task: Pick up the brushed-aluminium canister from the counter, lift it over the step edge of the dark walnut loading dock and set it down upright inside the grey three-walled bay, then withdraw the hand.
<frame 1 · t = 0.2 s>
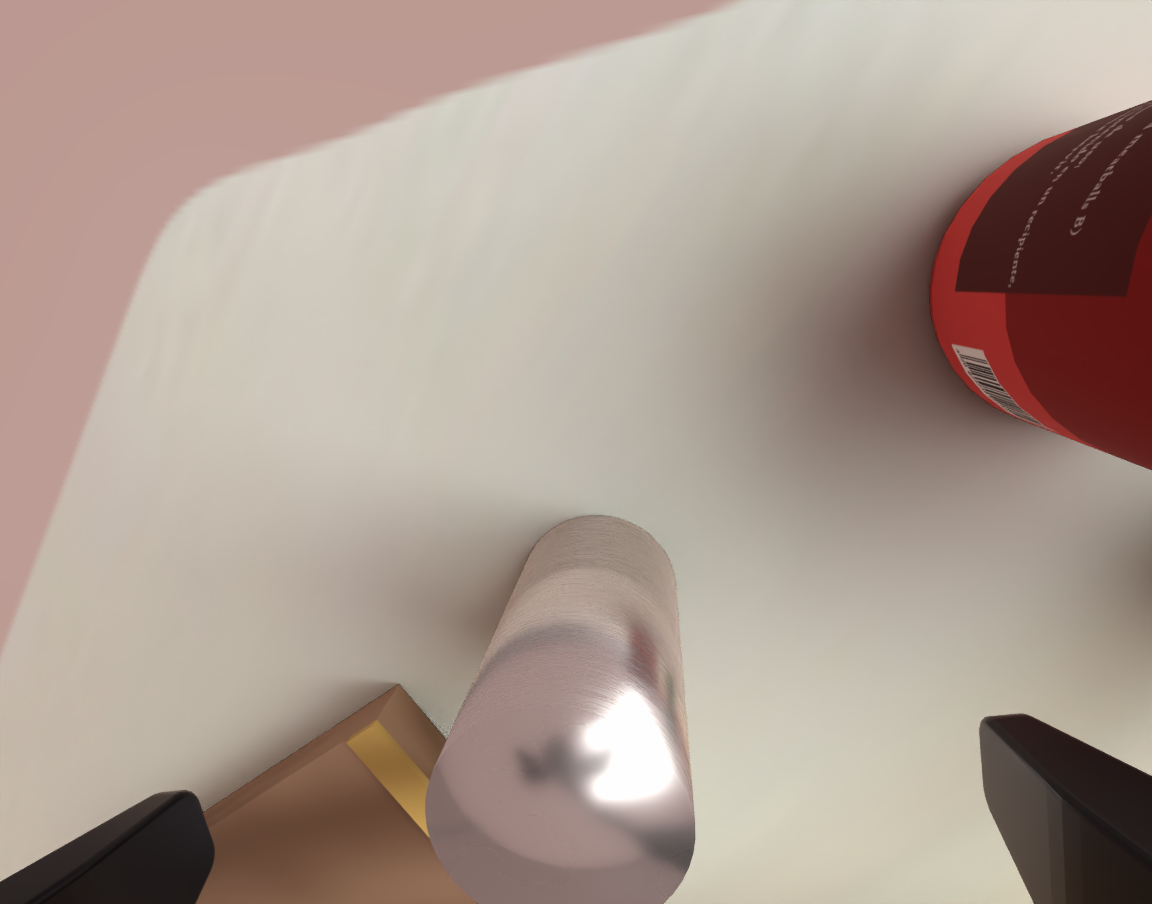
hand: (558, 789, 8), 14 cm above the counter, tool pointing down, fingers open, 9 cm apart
canned food: (1067, 283, 19), on the counter
canister: (598, 587, 22), on the counter
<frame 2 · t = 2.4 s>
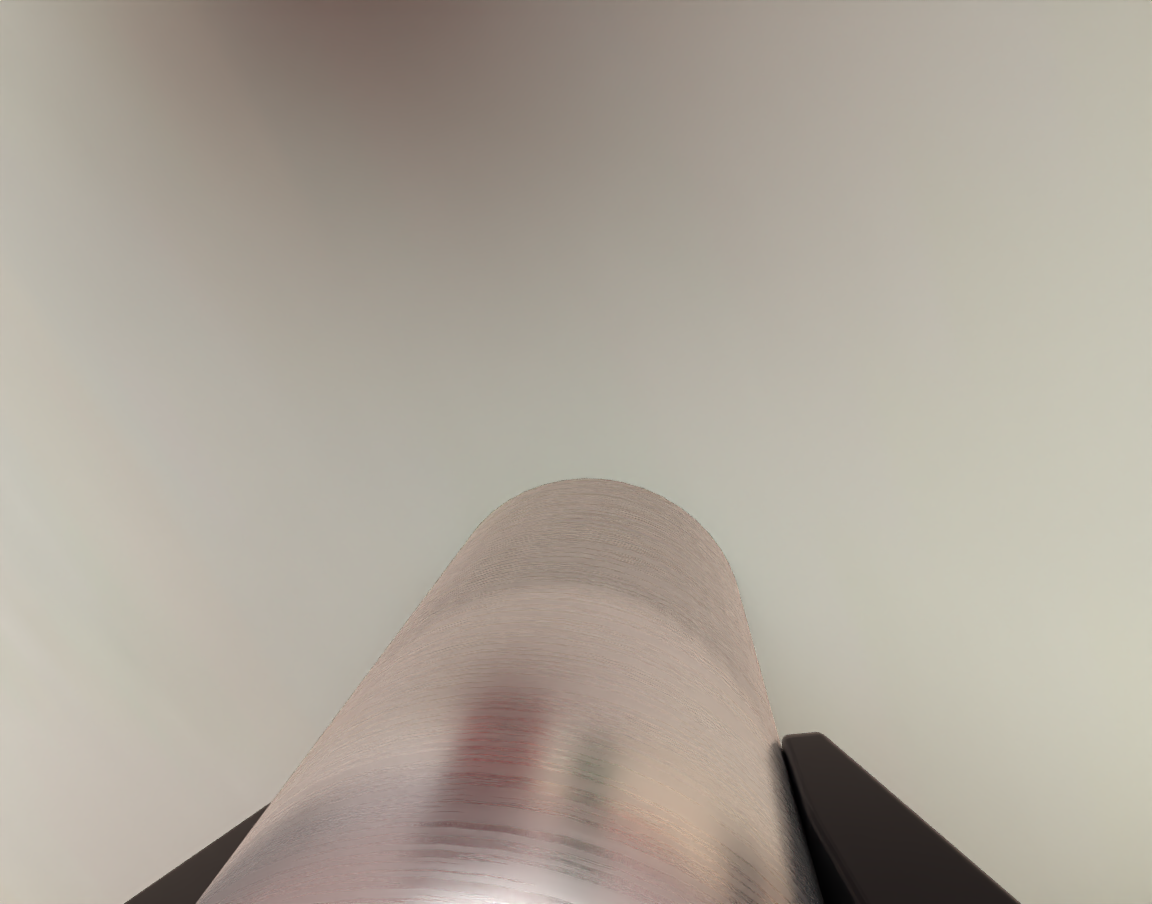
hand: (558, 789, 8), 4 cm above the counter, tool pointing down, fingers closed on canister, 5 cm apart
canister: (591, 620, 11), on the counter, touching gripper
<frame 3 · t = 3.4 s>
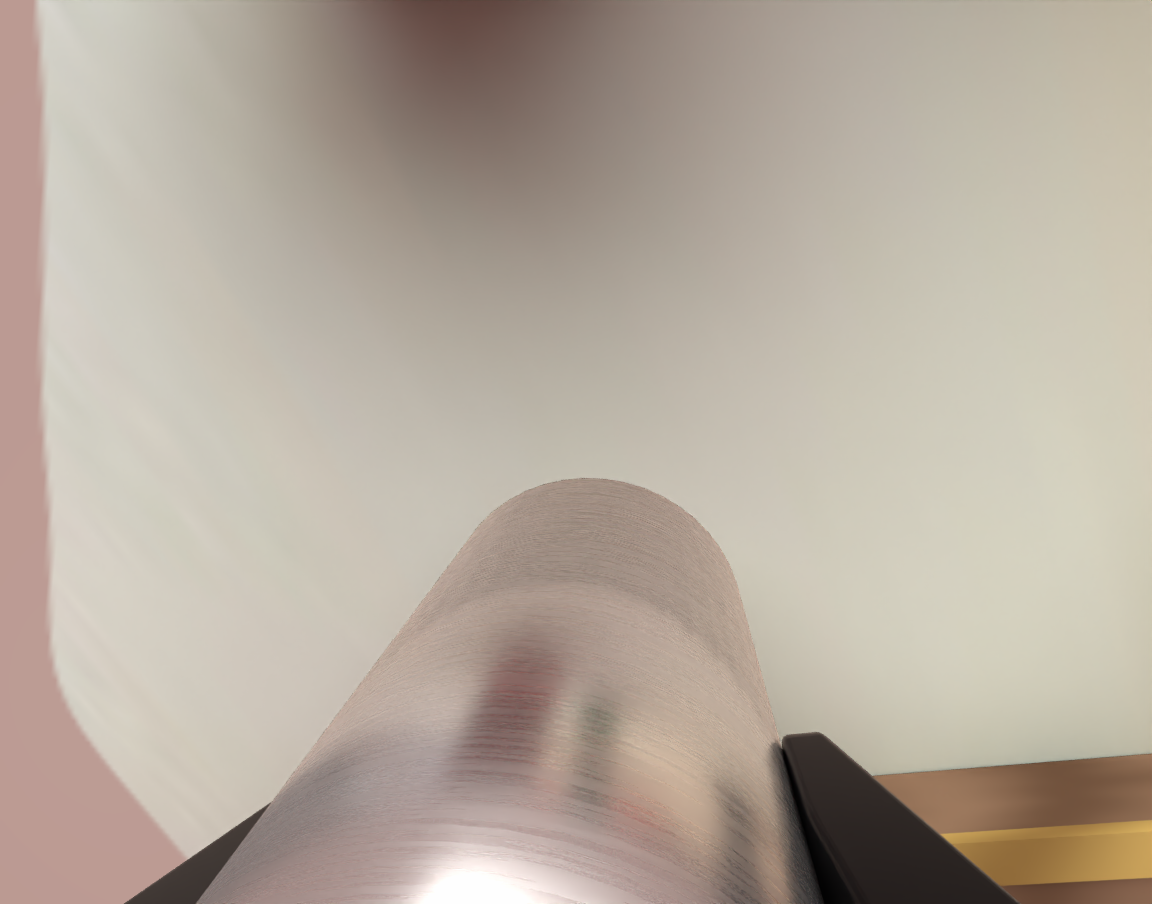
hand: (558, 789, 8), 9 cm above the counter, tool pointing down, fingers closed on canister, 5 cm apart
canister: (591, 619, 11), point 5 cm above the counter, touching gripper
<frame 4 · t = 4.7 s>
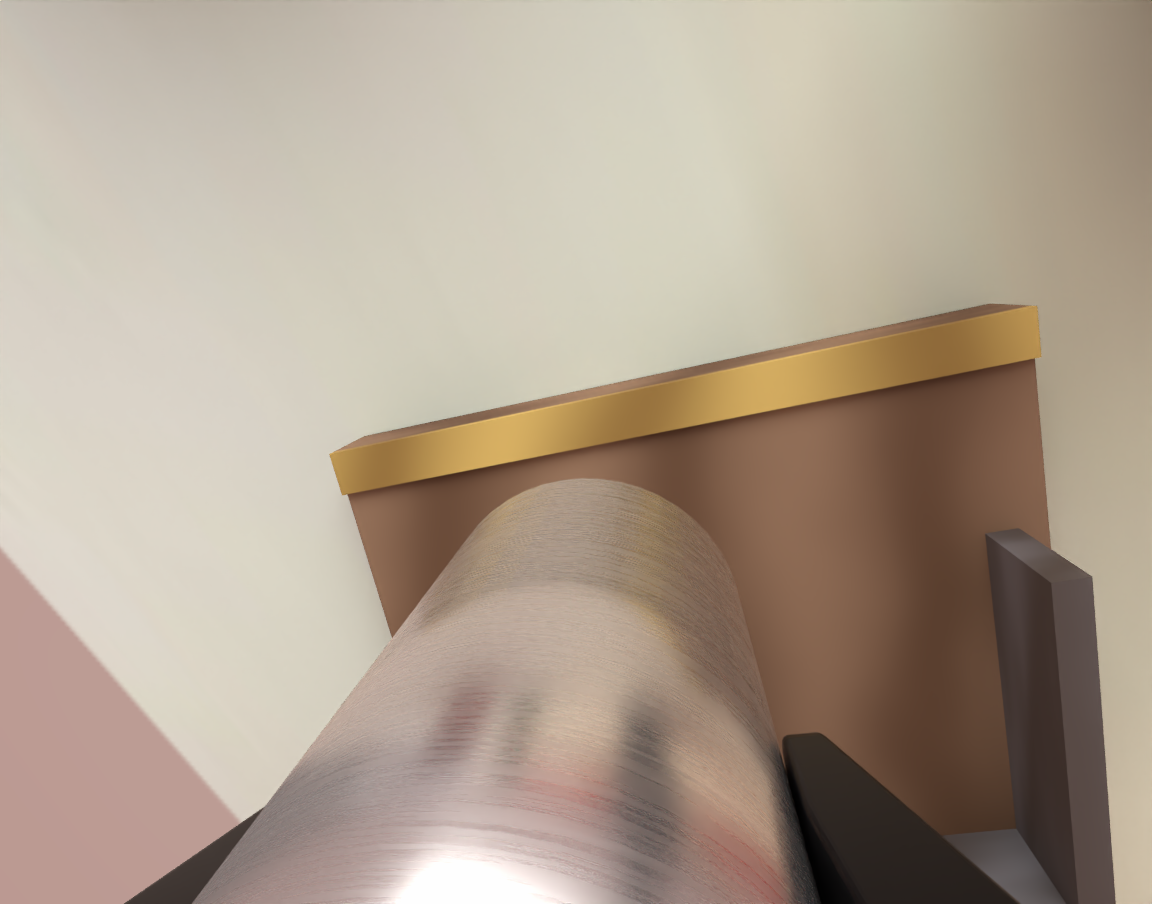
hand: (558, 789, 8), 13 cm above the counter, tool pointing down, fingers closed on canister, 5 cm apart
canister: (590, 620, 11), point 9 cm above the counter, touching gripper
dock: (704, 627, 21), on the counter
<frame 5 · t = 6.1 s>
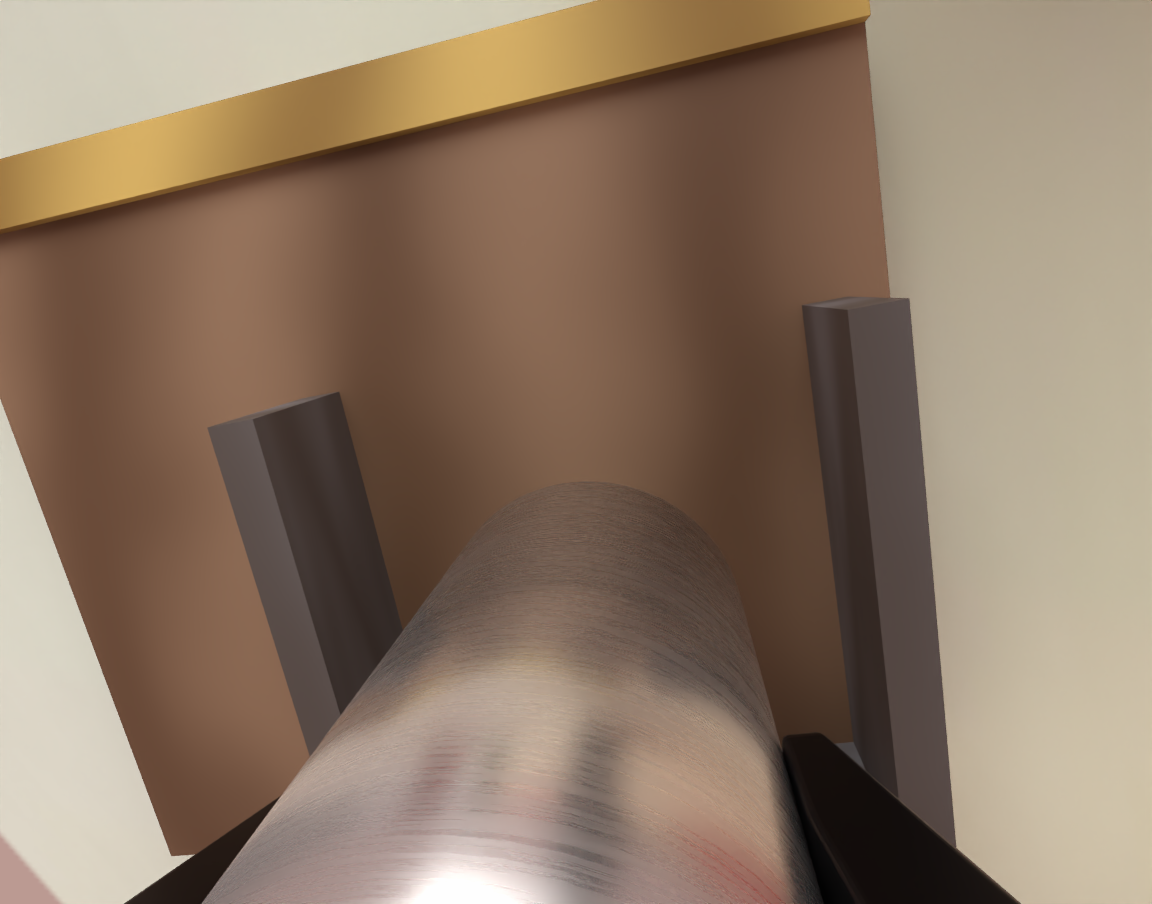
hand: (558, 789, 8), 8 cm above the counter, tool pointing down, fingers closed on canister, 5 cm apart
canister: (592, 622, 11), point 4 cm above the counter, touching gripper
dock: (465, 473, 16), on the counter
when the fingers open (7 cm above the counter, at t = 7.1 s): canister drops 1 cm, resting on dock.
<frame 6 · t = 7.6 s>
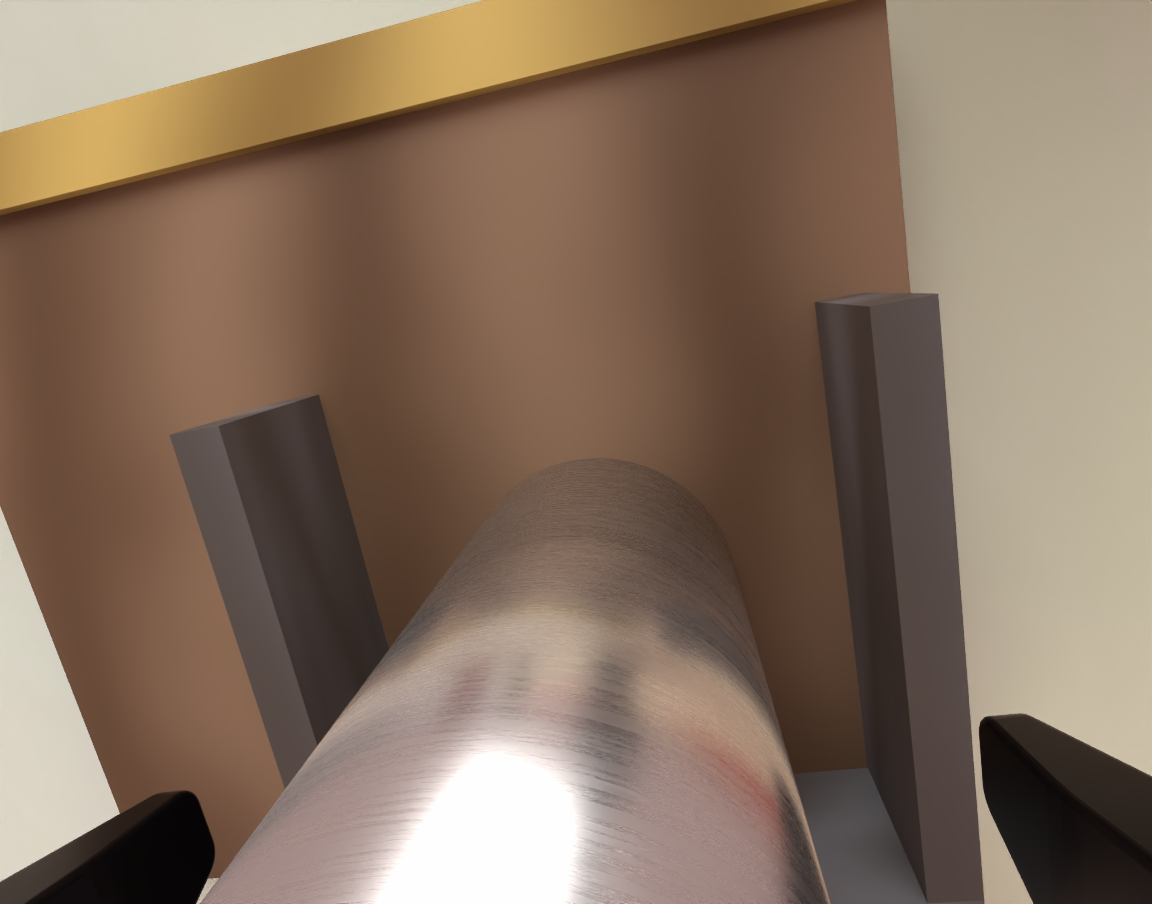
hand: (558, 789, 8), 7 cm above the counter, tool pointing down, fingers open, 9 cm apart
canister: (600, 585, 13), point 2 cm above the counter, touching dock
dock: (455, 480, 15), on the counter
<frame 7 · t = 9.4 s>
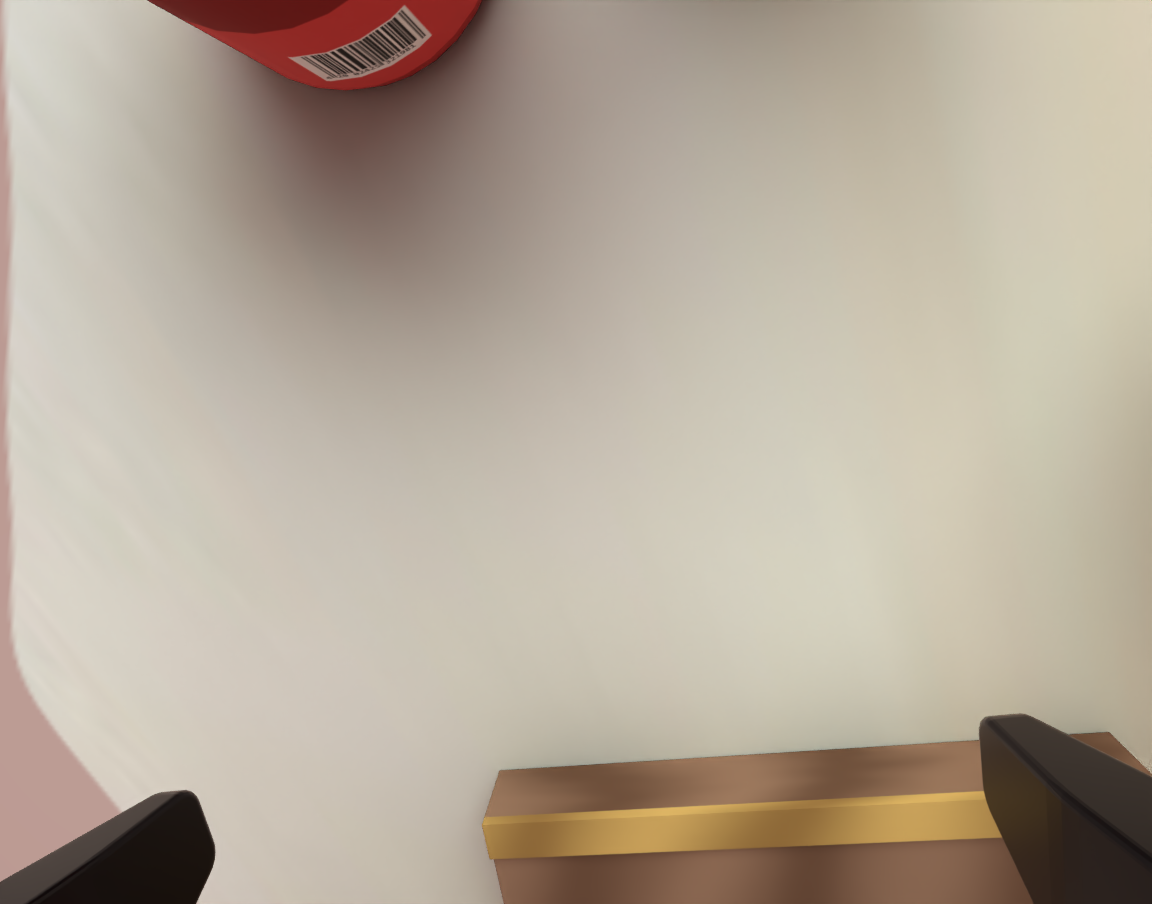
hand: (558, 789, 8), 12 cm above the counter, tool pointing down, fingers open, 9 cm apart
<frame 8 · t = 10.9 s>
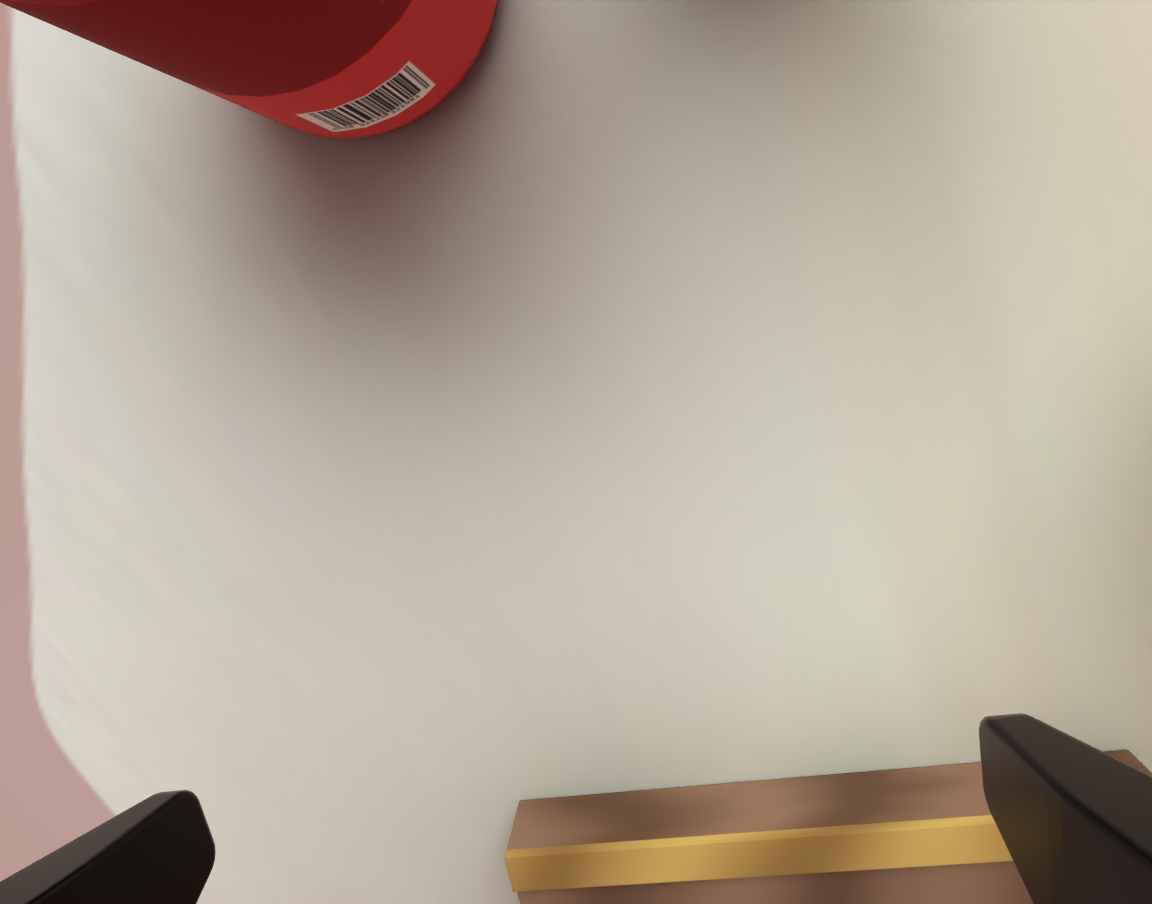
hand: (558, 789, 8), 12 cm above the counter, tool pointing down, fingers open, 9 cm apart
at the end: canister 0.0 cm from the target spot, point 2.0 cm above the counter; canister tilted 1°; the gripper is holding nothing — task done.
